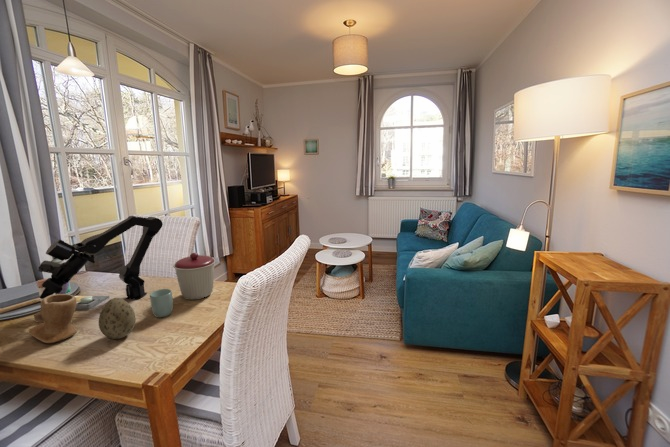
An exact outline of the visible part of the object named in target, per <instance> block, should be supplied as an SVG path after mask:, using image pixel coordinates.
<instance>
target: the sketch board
mask: <svg viewBox="0 0 670 447" xmlns="http://www.w3.org/2000/svg"><path fill="white" fill-rule="evenodd" d="M74 296H75V298H76V302H77V303H76V309H75V311H76V310H77V311H83V310H84V311H88V310H89V311H90V310H91V309H93V308H95V307H96V306H98V305H99V304H102V302H105V301H106V300H108V299H109V298H110V296H109V295H90V296H91V297H92V300H93V301H92V302H90V303H86V304H81V301H80V299H81V298H83V297H88V296H89V295H74Z"/></svg>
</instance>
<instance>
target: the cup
mask: <svg viewBox="0 0 670 447" xmlns="http://www.w3.org/2000/svg"><path fill="white" fill-rule="evenodd" d="M149 300H150V307H151V311H152V314H153V315H154V317H156V318H165V317H168V316H169V315H171V314H172V312H173V310H174V302H173V301H174V300H173V293H172V290H171V289H169V288H160V289H157V290H153V291H152V292H150V294H149Z"/></svg>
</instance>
